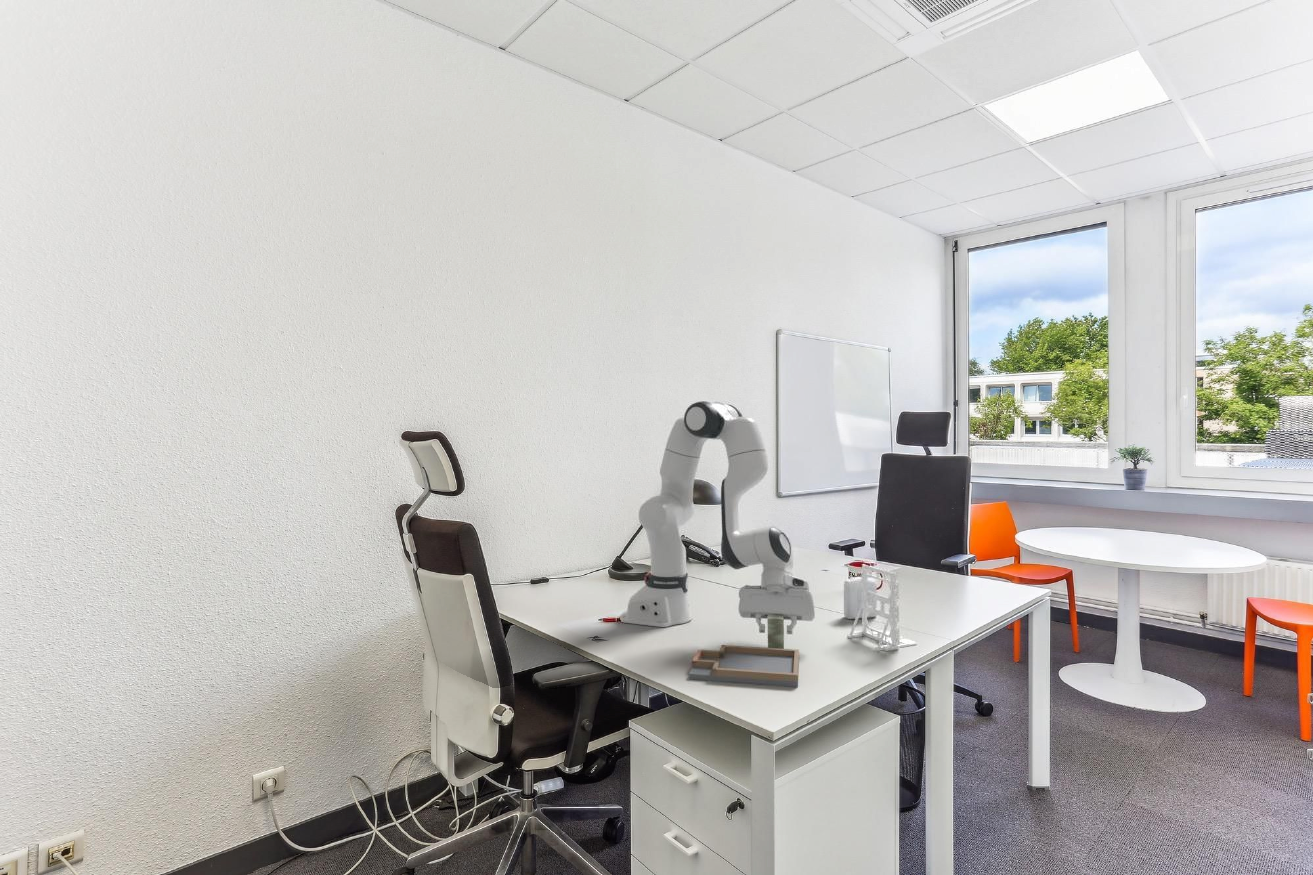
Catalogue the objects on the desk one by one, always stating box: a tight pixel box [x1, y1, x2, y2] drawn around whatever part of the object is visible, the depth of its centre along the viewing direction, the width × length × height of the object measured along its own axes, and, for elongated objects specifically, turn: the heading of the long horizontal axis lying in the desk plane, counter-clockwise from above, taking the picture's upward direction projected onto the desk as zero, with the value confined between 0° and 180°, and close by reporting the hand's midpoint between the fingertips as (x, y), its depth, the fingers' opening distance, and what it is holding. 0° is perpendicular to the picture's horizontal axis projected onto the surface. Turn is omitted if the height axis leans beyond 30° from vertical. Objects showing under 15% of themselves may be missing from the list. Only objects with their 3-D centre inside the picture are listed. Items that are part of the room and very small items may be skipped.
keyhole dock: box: [688, 644, 800, 688], centre depth 153 cm, size 25×17×3 cm
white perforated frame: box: [846, 563, 918, 652], centre depth 172 cm, size 14×14×20 cm
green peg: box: [766, 614, 785, 649], centre depth 166 cm, size 4×4×9 cm
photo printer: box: [843, 576, 878, 620], centre depth 194 cm, size 10×4×12 cm, turn 103°
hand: (775, 632), depth 165 cm, fingers open, 6 cm apart
